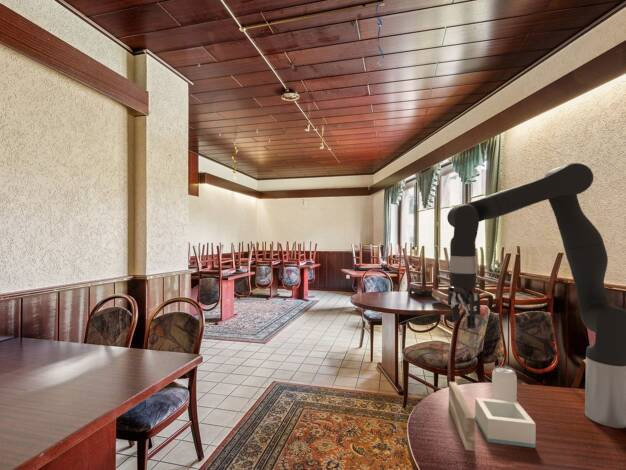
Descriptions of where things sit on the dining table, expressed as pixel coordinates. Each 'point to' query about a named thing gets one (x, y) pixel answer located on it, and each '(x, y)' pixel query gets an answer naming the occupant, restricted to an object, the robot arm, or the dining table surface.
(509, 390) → the can
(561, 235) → the robot arm
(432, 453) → the dining table surface
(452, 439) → the dining table surface
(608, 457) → the dining table surface
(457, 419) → the stop board
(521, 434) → the socket block
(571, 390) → the dining table surface
